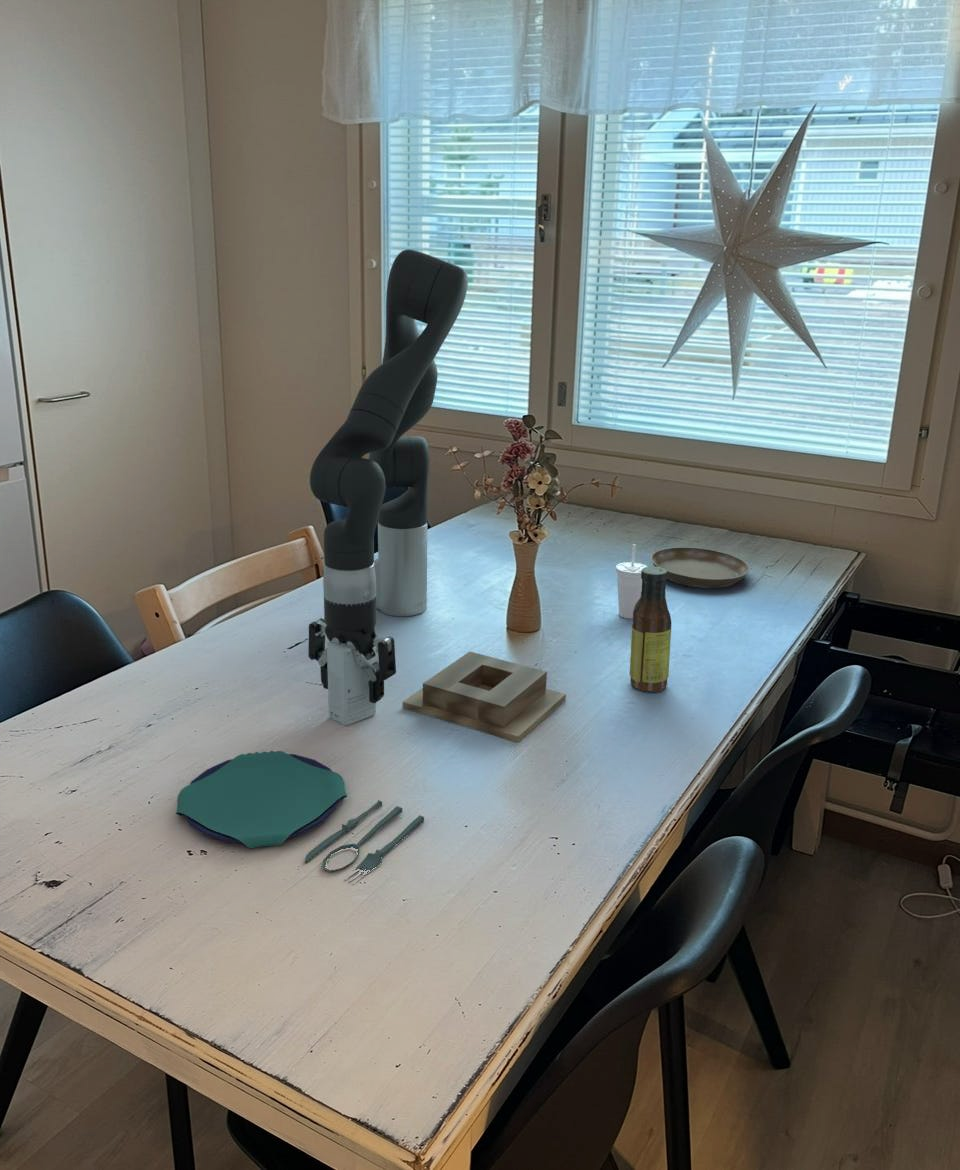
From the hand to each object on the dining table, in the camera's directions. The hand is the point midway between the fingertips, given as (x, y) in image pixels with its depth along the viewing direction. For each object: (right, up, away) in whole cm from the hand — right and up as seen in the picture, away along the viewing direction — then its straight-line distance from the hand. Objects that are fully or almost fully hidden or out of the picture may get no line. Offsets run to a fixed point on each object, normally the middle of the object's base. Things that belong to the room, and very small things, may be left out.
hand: (352, 693), depth 147 cm
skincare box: (0, -4, +1) cm, 4 cm away
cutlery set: (-4, -13, -24) cm, 28 cm away
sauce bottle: (+46, 0, +13) cm, 48 cm away
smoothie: (+48, +10, +42) cm, 64 cm away
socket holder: (+20, -2, +6) cm, 21 cm away
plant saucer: (+66, +18, +65) cm, 94 cm away
